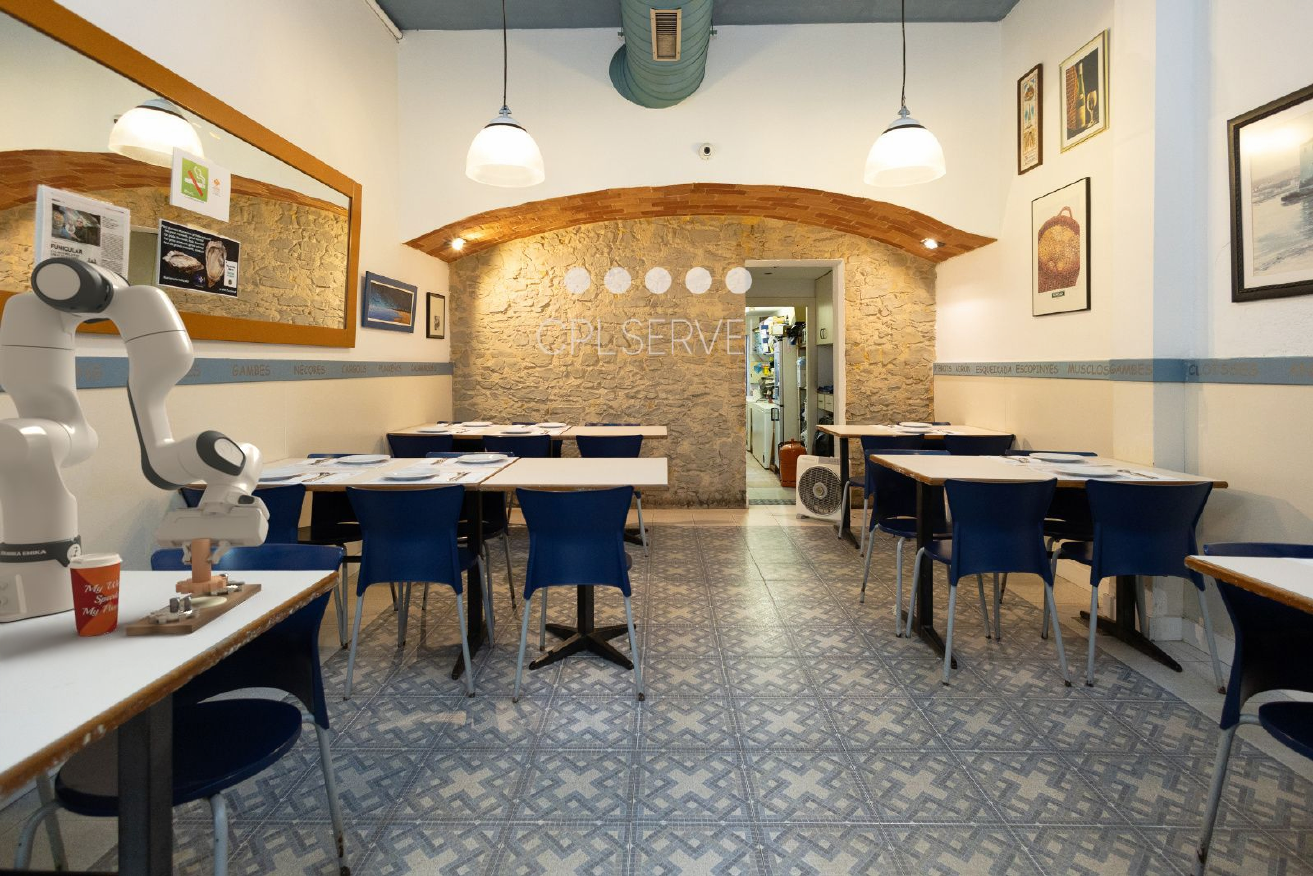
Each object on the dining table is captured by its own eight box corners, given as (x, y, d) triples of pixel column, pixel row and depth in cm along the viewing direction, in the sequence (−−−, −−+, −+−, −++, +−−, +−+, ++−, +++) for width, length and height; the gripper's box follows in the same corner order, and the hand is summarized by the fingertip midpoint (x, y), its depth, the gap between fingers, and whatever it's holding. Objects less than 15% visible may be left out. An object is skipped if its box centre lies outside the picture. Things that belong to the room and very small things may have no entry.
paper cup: (92, 640, 115) (90, 562, 115) (57, 636, 117) (55, 559, 116) (135, 625, 123) (133, 552, 122) (102, 622, 125) (101, 550, 124)
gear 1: (138, 624, 119) (138, 604, 119) (164, 611, 127) (164, 592, 127) (185, 623, 120) (185, 603, 120) (208, 610, 128) (208, 591, 128)
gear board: (125, 635, 118) (125, 626, 118) (208, 591, 146) (208, 584, 146) (192, 633, 120) (191, 624, 120) (261, 590, 147) (261, 583, 147)
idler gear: (166, 594, 128) (165, 544, 127) (190, 583, 136) (189, 536, 136) (213, 593, 129) (212, 543, 128) (234, 581, 137) (233, 535, 137)
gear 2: (193, 596, 137) (193, 579, 137) (213, 586, 145) (213, 570, 145) (234, 595, 138) (234, 578, 138) (252, 585, 146) (251, 569, 146)
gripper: (164, 499, 137) (135, 556, 128) (268, 498, 140) (247, 553, 131) (177, 516, 142) (150, 572, 132) (277, 515, 145) (258, 569, 135)
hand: (199, 562), depth 132 cm, fingers closed on idler gear, 3 cm apart
